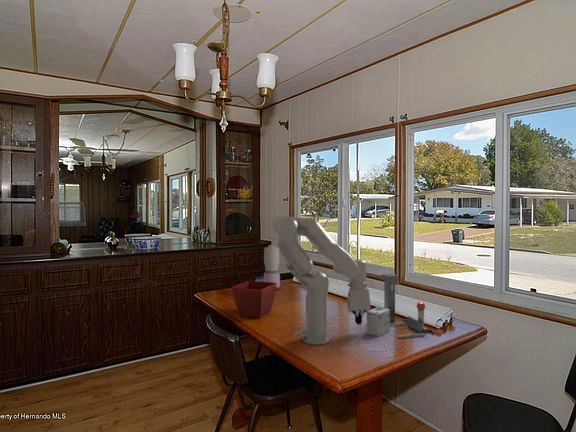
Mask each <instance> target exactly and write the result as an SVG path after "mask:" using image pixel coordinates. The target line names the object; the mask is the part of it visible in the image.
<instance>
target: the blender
mask: <svg viewBox="0 0 576 432" xmlns="http://www.w3.org/2000/svg"><path fill="white" fill-rule="evenodd" d="M263 262H264V269H265V270H264V273H263V282H272V283H277V285H276V290H278V289H281V276H280V271H279V266H280V249H279V247H276V245H268V246H267V247H264V251H263Z"/></svg>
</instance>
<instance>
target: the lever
mask: <svg viewBox="0 0 576 432" xmlns="http://www.w3.org/2000/svg"><path fill="white" fill-rule="evenodd" d="M416 309H417V321H418V322H420V323H422V330H427V327H426V326H425V309H426V304H425V303H424V302H423V301H422V302H421V301H420V302H417V304H416ZM425 327H426V328H425Z"/></svg>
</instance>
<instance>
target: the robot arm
mask: <svg viewBox="0 0 576 432" xmlns="http://www.w3.org/2000/svg"><path fill="white" fill-rule="evenodd" d="M271 225H272V226H271V227H272V229H273V231H274V232H275V234H277V245H278V248H279V252H280V253H281V254H282V256H283V257H284V258H285V259H284V260H285V261H284V262H285V266H286V268H287V270H288V271H289V272H290V273H291V274H292V276H293V277H294V278H295V279H296V280H297V282H298V283H299V285H301V286H303V287H304V288H306V289H307V292H306V293H307V294H306V297H305V328H304V329H303V330H302V331H295V336H296V337H299V338H302V341H303V342H305V343H306V344H308V345H314V346H315V345H316V346H318V345H319V346H320V345H327V344H329V343H330V342H331V336H330V335H329V334H328V320H327V319H328V292H329V286H330V283H329V278H328V276H327V274H325V273H324V272H322V271H320V270H318V269H315V268H314V264H313V261H312V258H311V257H310V256H309V255H308V253H306V251H305V249H304V248H303V247H302V246H301V245H300V243H299V242H298V240H297V236H298V237H299V236H302V237H306V239H308V241H309V243H311V245H312V246H313V247H314V248H315V249H316V251H318V253H319V254H321V255H322V256H323V257H325V258H327V259H328V260H330V261H331V262H332V263H333V264H332V269H333V272H334V273H335V274H336V275H338V276H342V277H345V278H347V279H350V280H349V283H347V287H349V288H348V293H347V303H346V304H347V312H348V313H351V314H353V315H354V321H355V324H357V325H362V323H363V316H364V314H365V313H367V311H369V310H371V297H370V291H369V288H367V262H366V260H365V259H361V258H360V259H358V258H356V259H354V258H353V257H352V256H351V255H350V254H349V253H348V252H347V251H346V249H344V248H342V246H340V245H339V243H337V242H336V241H334V240H333V238H332V237H331V235H330V234H328V232H327V231H326V230H325V228H324V227H323V226H322V225H321V223H320V222H319V221H318V220H316V219H314V218H309V217H293V216H285V215H284V216H283V215H281V216H276V217H275V218H274V219H273V221H272V223H271Z"/></svg>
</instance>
